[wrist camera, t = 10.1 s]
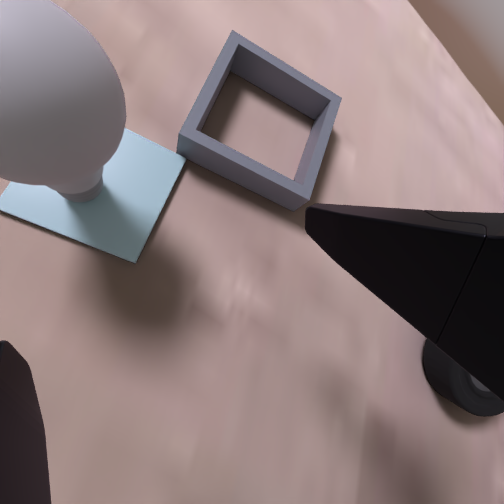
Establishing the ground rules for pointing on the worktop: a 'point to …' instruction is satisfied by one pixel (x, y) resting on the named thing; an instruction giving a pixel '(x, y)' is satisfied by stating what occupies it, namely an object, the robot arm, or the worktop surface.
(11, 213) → the coaster
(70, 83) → the lightbulb
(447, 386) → the caster wheel
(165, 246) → the worktop surface
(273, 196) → the grey square frame
